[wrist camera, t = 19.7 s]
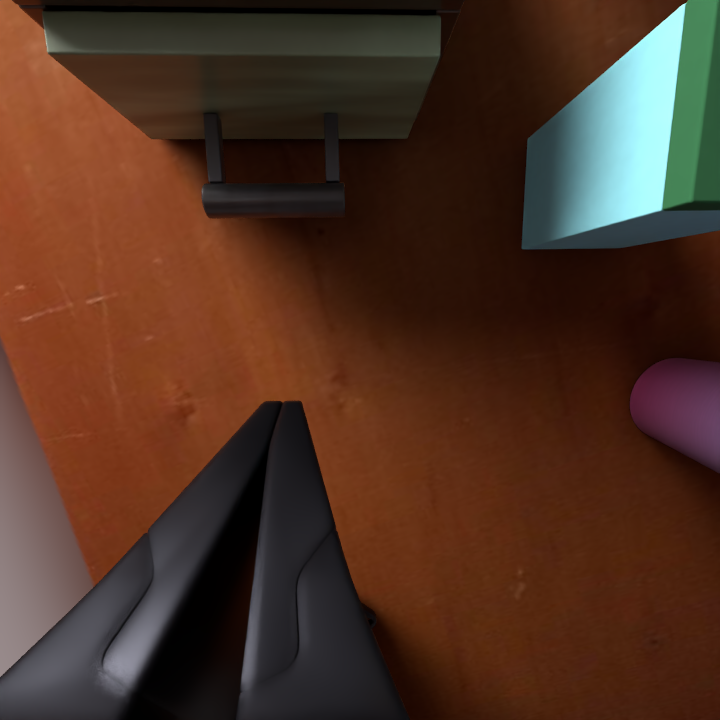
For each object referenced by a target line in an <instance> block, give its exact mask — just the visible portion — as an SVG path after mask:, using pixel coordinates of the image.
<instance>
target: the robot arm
mask: <svg viewBox="0 0 720 720" xmlns="http://www.w3.org/2000/svg"><path fill="white" fill-rule="evenodd" d="M367 618H371V619H369V620H368V619H367ZM375 624H376V614H375V612H374V611H373V610H371V609H370V608H368V607H367V606H365V605H364V604H362V603H361V602H360V599H359V597H358V594H357V592H356V589H355V587H354V584H353V581H352V579H351V576H350V573H349V569H348V566H347V563H346V560H345V557H344V553H343V550H342V547H341V543H340V539H339V536H338V532H337V531H336V525H335V522H334V518H333V514H332V511H331V507H330V503H329V500H328V496H327V492H326V489H325V485H324V482H323V478H322V474H321V471H320V467H319V463H318V460H317V456H316V452H315V449H314V445H313V441H312V438H311V434H310V430H309V427H308V423H307V419H306V416H305V412H304V408H303V405H302V402H301V401H285V402H281V401H266V402H264V403H262V404H261V405H260V406H259V408H258V409H257V410H256V411H255V412H254V413H253V414H252V415H251V416H250V418H249V419H248V420H247V421H246V422H245V423H244V424H243V425H242V426H241V427H240V429H239V430H238V431H237V432H236V433H235V434H234V435H233V436H232V437H231V439H230V440H229V441H228V442H227V443H226V444H225V445H224V446H223V447H222V448H221V450H220V451H219V452H218V453H217V454H216V455H215V456H214V457H213V458H212V460H211V461H210V462H209V463H208V464H207V465H206V466H205V467H204V468H203V469H202V471H201V472H200V473H199V474H198V475H197V476H196V477H195V478H194V479H193V481H192V482H191V483H190V484H189V485H188V486H187V487H186V488H185V489H184V490H183V492H182V493H181V494H180V495H179V496H178V497H177V498H176V499H175V500H174V502H173V503H172V504H171V505H170V506H169V507H168V508H167V509H166V510H165V511H164V513H163V514H162V515H161V516H160V517H159V518H158V519H157V520H156V521H155V522H154V524H153V525H152V526H151V527H150V528H149V529H148V533H145V534H143V536H142V537H141V538H140V539H139V540H138V541H137V542H136V543H135V544H134V545H133V547H132V548H131V549H130V550H129V551H128V552H127V553H126V554H125V555H124V556H123V557H122V558H121V559H120V561H119V562H118V563H117V564H116V565H115V566H114V567H113V568H112V569H111V570H110V571H109V572H108V573H107V574H106V575H105V576H104V578H103V579H102V580H101V581H100V582H99V583H98V584H97V585H96V586H95V587H94V588H93V589H92V590H91V591H89V592H88V594H86V596H84V597H83V598H82V599H81V600H80V601H79V602H78V603H77V604H76V605H75V606H74V607H73V608H72V609H71V610H70V611H69V612H68V613H67V614H66V615H65V616H64V617H63V618H62V619H61V620H60V621H59V622H58V623H57V624H56V625H55V626H54V627H53V628H52V629H50V630H49V631H48V632H47V633H46V634H45V635H44V636H43V637H42V638H41V639H40V640H39V641H38V642H37V643H36V644H35V645H34V646H33V647H31V648H30V649H29V650H28V651H27V652H26V653H25V654H24V655H23V656H22V657H21V658H20V659H19V660H18V661H17V662H16V663H15V664H14V665H13V666H12V667H11V668H9V669H8V670H7V671H6V672H5V673H4V674H3V675H2V676H1V677H0V720H410V718H409V715H408V713H407V711H406V709H405V706H404V704H403V702H402V700H401V697H400V695H399V693H398V690H397V688H396V685H395V683H394V681H393V678H392V676H391V674H390V671H389V669H388V667H387V664H386V662H385V659H384V657H383V655H382V652H381V650H380V648H379V645H378V643H377V641H376V638H375V636H374V633H373V631H372V628H373V627H374V626H375ZM240 692H241V694H240Z"/></svg>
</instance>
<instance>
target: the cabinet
mask: <svg viewBox="0 0 720 720" xmlns="http://www.w3.org/2000/svg"><path fill="white" fill-rule="evenodd" d="M12 1H13V2H14V3H16V4H18V5H19V7H20V8H21V9H22V10H23V11H24V12H25V13H27V14H28V15H29V16H30V17H31V18H32V19H33V20H34V21H35V22H37V23H38V24H39V25H40V26H41V27H42V28H43V29H44V24H43V17H42V11H101V10H100V9H99V8H98V6H150V7H233V8H316V9H399V10H410V11H409V15H440V16H441V47H440V58H439V60H438V63H437V65H436V68H435V70H434V73H433V75H432V78H431V80H430V83H429V85H428V88H427V90H426V93H425V95H424V98H423V100H422V103H421V105H420V108H419V110H418V113H417V116H416V118H415V121H416V120H417V117H418V115H419V112H420V110H421V107H422V105H423V103H424V100H425V98H426V95H427V93H428V90H429V88H430V85H431V83H432V80H433V78H434V75H435V73H436V71H437V68H438V66H439V63H440V61H441V58H442V56H443V53H444V51H445V48H446V46H447V43H448V41H449V39H450V36H451V34H452V31H453V29H454V26H455V24H456V21H457V19H458V16H459V14H460V11H461V8H462V5H463V3H464V1H465V0H12Z"/></svg>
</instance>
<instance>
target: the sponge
mask: <svg viewBox="0 0 720 720" xmlns="http://www.w3.org/2000/svg"><path fill="white" fill-rule="evenodd" d="M718 230H720V0H688V1H687V3H685V4H683V5H682V6H680V7H679V8H678V9H677V10H676V11H675V12H674V13H672V14H671V15H670V16H669V17H668V18H667V19H665V20H664V21H663V22H662V23H661V24H660V25H659V26H657V27H656V28H655V29H654V30H653V31H652V32H650V33H649V34H648V35H647V36H646V37H645V38H644V39H642V40H641V41H640V42H639V43H638V44H637V45H635V46H634V47H633V48H632V49H631V50H630V51H629V52H627V53H626V54H625V55H624V56H623V57H622V58H620V59H619V60H618V61H617V62H616V63H615V64H614V65H612V66H611V67H610V68H609V69H608V70H607V71H605V72H604V73H603V74H602V75H601V76H600V77H599V78H597V79H596V80H595V81H594V82H593V83H592V84H590V85H589V86H588V87H587V88H586V89H585V90H584V91H582V92H581V93H580V94H579V95H578V96H577V97H575V98H574V99H573V100H572V101H571V102H570V103H568V104H567V105H566V106H565V107H564V108H563V109H562V110H560V111H559V112H558V113H557V114H556V115H555V116H553V117H552V118H551V119H550V120H549V121H548V122H547V123H545V124H544V125H543V126H542V127H541V128H540V129H538V130H537V131H536V132H535V133H534V134H533V135H532V136H530V137H529V138H528V141H527V160H526V178H525V196H524V214H523V232H522V249H594V248H624V247H629V246H635V245H640V244H646V243H651V242H657V241H663V240H668V239H674V238H679V237H685V236H690V235H696V234H702V233H707V232H713V231H718Z"/></svg>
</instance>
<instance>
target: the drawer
mask: <svg viewBox="0 0 720 720" xmlns="http://www.w3.org/2000/svg"><path fill="white" fill-rule="evenodd" d="M98 8H99V9H100V10H101V11H42V17H43V24H44V31H45V38H46V45H47V52H48V54H49V55H50V56H52V57H53V58H54V59H55V60H56V61H58V62H59V63H60V64H61V65H62V66H64V67H65V68H66V69H67V70H69V71H70V72H71V73H72V74H73V75H75V76H76V77H77V78H78V79H79V80H81V81H82V82H83V83H84V84H85V85H87V86H88V87H89V88H90V89H92V90H93V91H94V92H95V93H96V94H98V95H99V96H100V97H101V98H102V99H104V100H105V101H106V102H107V103H108V104H110V105H111V106H112V107H113V108H115V109H116V110H117V111H118V112H119V113H121V114H122V115H123V116H124V117H125V118H127V119H128V120H129V121H130V122H131V123H133V124H134V125H135V126H136V127H137V128H139V129H140V130H141V131H142V132H144V133H145V134H146V135H147V136H148V137H150V138H151V139H205V144H206V156H207V169H208V181H209V182H210V183H211V184H204V185H203V187H202V203H203V207H204V210H205V212H206V214H207V216H208V217H209V218H306V217H345V187H344V183H340V172H339V139H407V138H408V136H409V133H410V131H411V128H412V126H413V123H414V121H415V118H416V116H417V113H418V110H419V108H420V105H421V103H422V100H423V98H424V95H425V93H426V90H427V88H428V85H429V83H430V80H431V78H432V75H433V73H434V70H435V68H436V65H437V63H438V60H439V58H440V47H441V16H440V15H409V11H410V10H399V9H316V8H233V7H150V6H98ZM223 139H324V140H325V171H326V183H226V176H225V163H224V150H223Z"/></svg>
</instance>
